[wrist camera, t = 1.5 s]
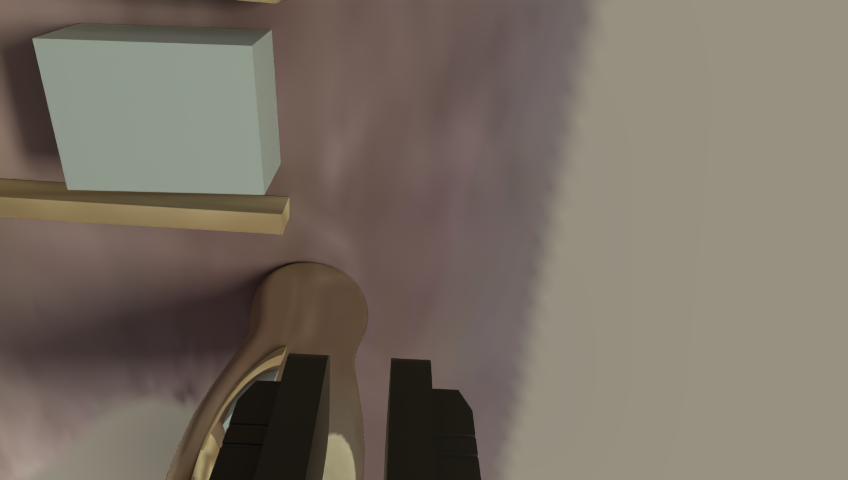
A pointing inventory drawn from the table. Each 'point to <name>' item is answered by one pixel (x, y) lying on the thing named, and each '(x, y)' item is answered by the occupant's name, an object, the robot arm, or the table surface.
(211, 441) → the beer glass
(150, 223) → the bay
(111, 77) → the pale teal block
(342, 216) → the table surface
